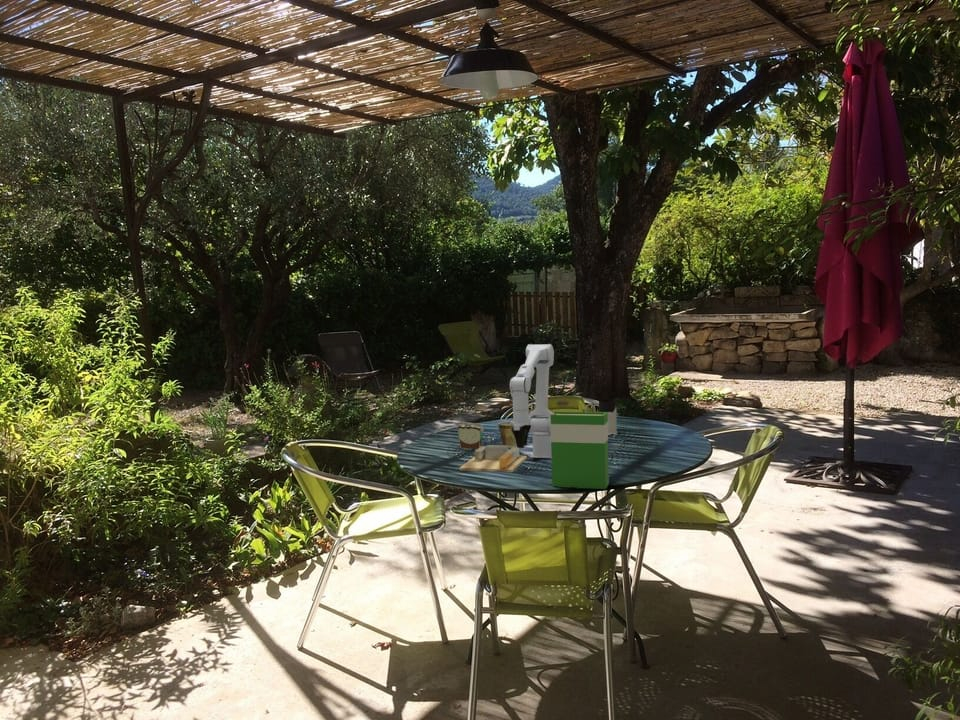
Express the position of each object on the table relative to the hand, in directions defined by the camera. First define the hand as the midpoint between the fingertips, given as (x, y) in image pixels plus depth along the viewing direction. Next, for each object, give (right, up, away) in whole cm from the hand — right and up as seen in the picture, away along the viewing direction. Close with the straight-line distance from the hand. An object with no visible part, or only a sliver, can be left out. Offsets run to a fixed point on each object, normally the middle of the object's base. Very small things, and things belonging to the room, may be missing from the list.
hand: (521, 446), depth 276 cm
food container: (-18, -6, +42) cm, 46 cm away
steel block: (-9, -7, +14) cm, 18 cm away
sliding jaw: (-4, -7, +8) cm, 11 cm away
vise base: (-10, -8, +10) cm, 16 cm away
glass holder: (+39, -2, +62) cm, 74 cm away
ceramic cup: (-2, -5, +44) cm, 44 cm away
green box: (+18, -10, -25) cm, 32 cm away
